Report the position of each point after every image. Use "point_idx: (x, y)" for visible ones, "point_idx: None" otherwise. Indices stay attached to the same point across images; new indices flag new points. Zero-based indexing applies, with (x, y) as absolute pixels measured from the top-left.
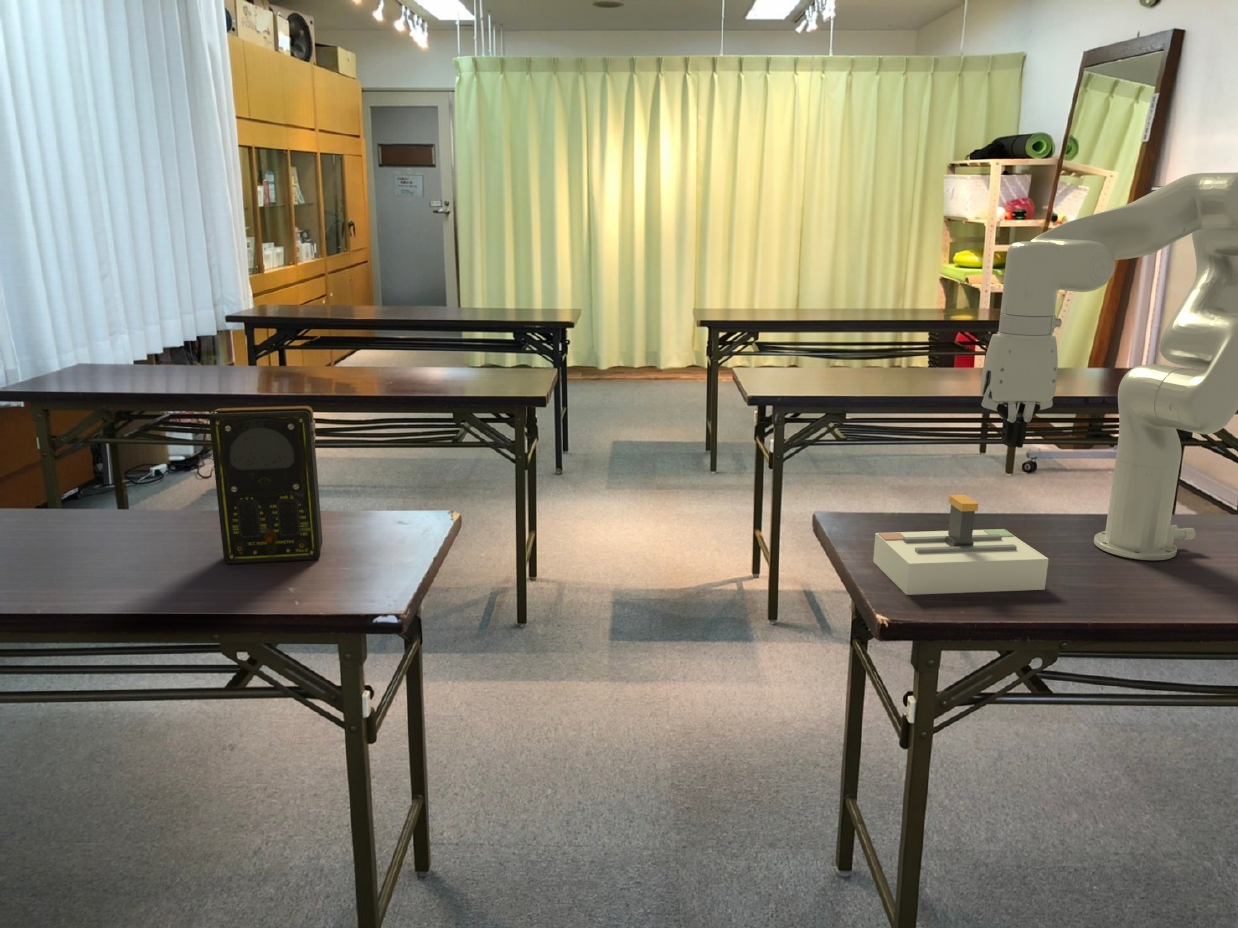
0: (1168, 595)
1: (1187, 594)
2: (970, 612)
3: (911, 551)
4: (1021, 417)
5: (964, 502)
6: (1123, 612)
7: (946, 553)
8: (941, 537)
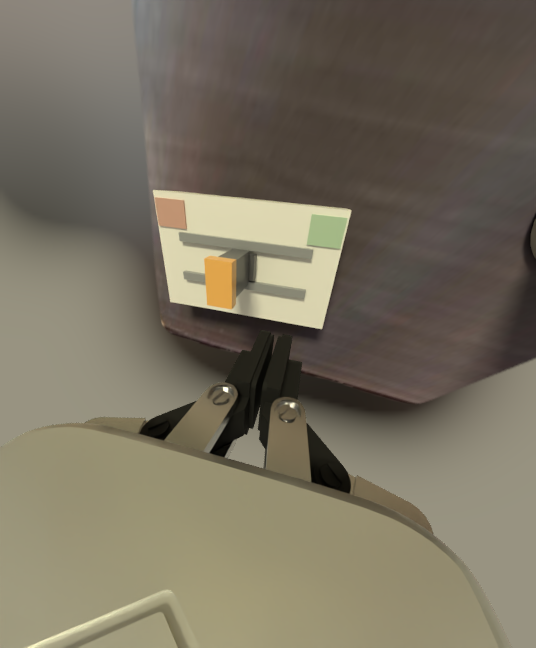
0: (435, 355)
1: (459, 359)
2: (227, 333)
3: (181, 270)
4: (263, 442)
5: (213, 299)
6: (352, 368)
7: None
8: (226, 244)
